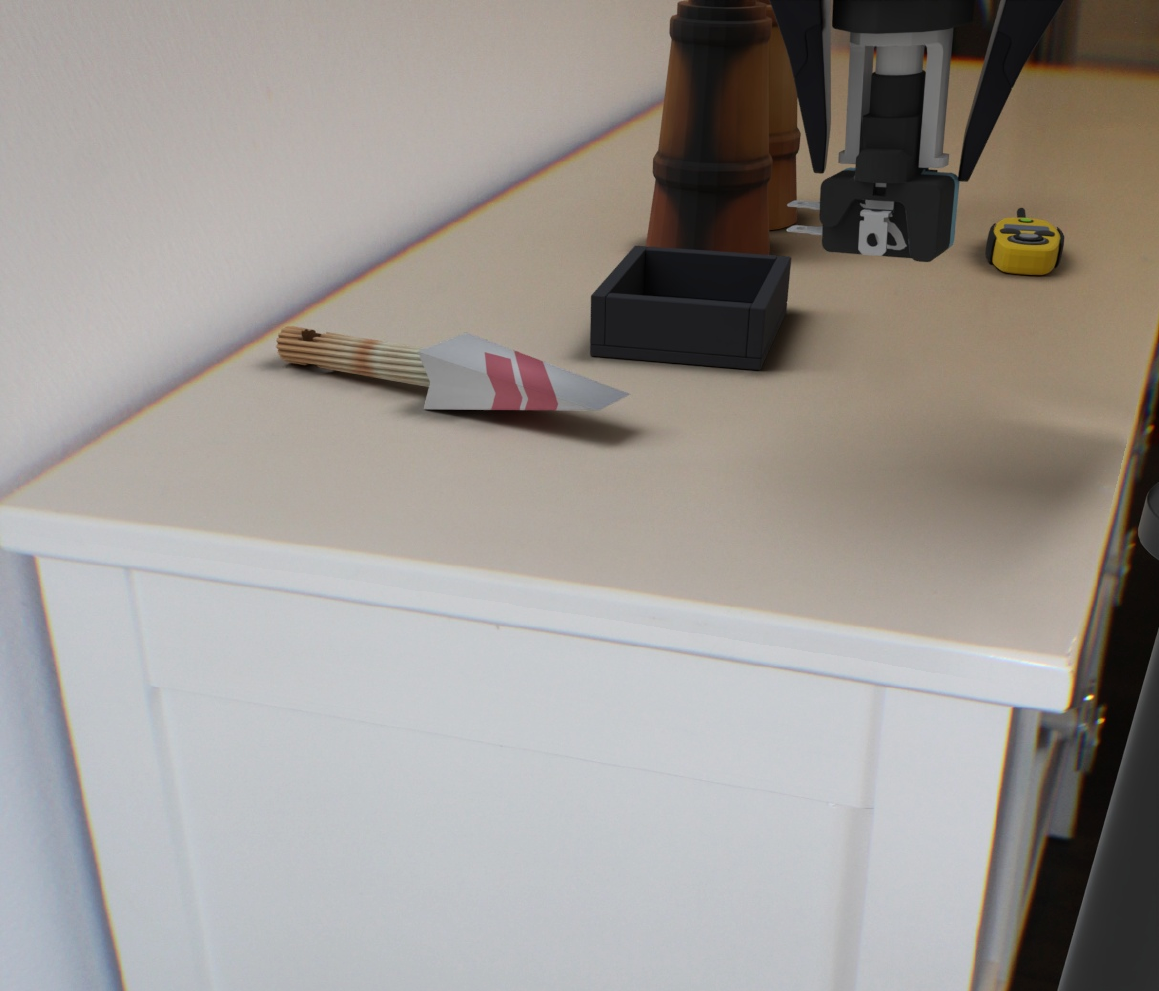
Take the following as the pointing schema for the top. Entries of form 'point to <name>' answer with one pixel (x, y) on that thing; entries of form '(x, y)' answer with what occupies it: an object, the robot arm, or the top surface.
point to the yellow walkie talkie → (1024, 245)
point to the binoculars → (725, 131)
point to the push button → (893, 133)
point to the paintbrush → (453, 371)
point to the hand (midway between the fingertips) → (891, 175)
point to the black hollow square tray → (690, 307)
